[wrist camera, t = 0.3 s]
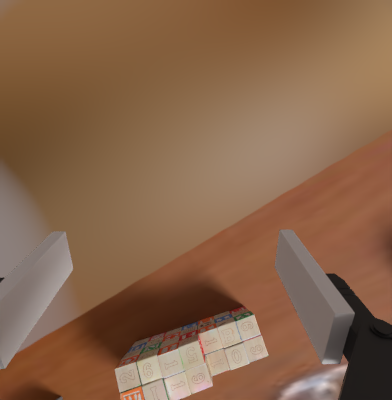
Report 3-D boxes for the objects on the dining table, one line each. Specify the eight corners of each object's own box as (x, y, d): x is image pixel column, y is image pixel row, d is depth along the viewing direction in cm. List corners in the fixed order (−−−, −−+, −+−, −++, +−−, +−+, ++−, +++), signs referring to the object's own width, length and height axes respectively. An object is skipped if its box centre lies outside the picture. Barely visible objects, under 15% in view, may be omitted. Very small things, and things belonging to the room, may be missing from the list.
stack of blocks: (244, 304, 49) (259, 318, 37) (255, 339, 48) (276, 365, 36) (134, 342, 47) (113, 369, 35) (142, 379, 46) (124, 420, 34)
